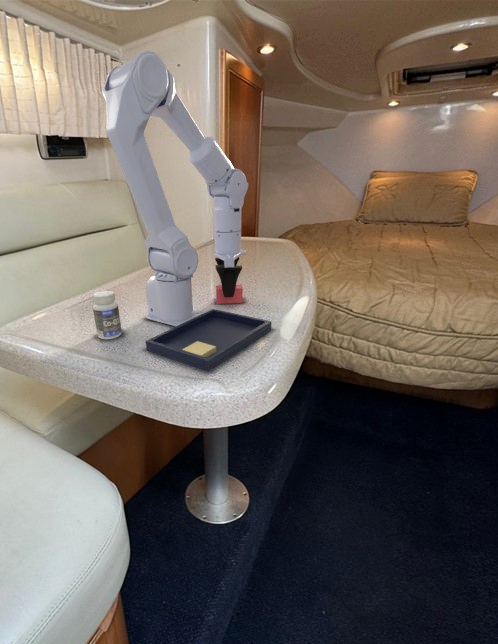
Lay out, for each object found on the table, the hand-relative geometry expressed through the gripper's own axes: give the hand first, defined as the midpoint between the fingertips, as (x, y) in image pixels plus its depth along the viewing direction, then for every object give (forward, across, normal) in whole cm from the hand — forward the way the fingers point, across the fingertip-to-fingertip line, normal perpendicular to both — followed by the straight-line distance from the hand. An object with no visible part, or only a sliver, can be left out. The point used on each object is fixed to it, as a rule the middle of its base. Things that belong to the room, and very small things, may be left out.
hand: (228, 291), depth 84 cm
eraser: (+2, 0, 0) cm, 2 cm away
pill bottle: (+3, -18, +24) cm, 30 cm away
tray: (+2, -22, +4) cm, 22 cm away
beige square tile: (+2, -29, +6) cm, 29 cm away
